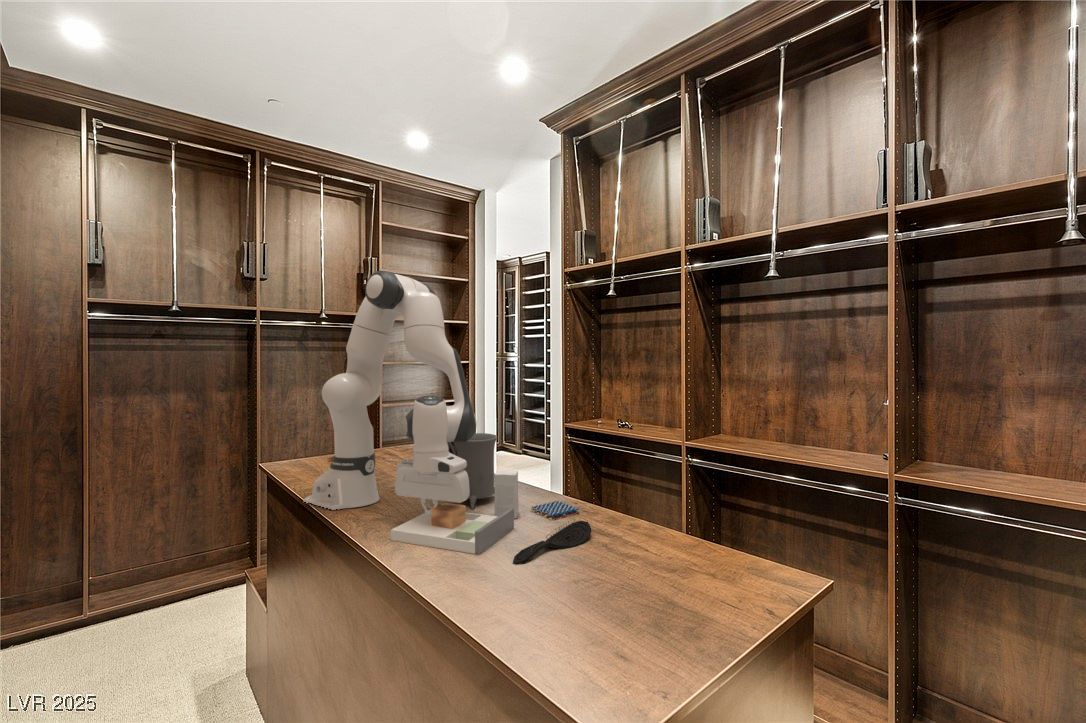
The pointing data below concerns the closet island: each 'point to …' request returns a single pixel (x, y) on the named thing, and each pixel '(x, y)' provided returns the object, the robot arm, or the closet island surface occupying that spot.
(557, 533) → the hairbrush
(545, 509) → the woven mat
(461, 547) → the trap deck
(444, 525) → the block
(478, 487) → the mug
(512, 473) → the skincare box
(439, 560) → the closet island surface
